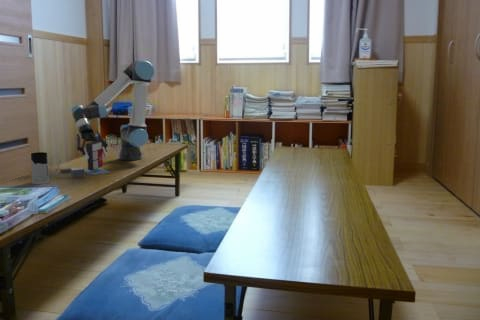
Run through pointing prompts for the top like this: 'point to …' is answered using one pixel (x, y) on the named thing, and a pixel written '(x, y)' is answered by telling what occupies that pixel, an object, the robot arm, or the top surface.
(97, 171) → the rubber mat
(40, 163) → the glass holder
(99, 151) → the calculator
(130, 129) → the robot arm
